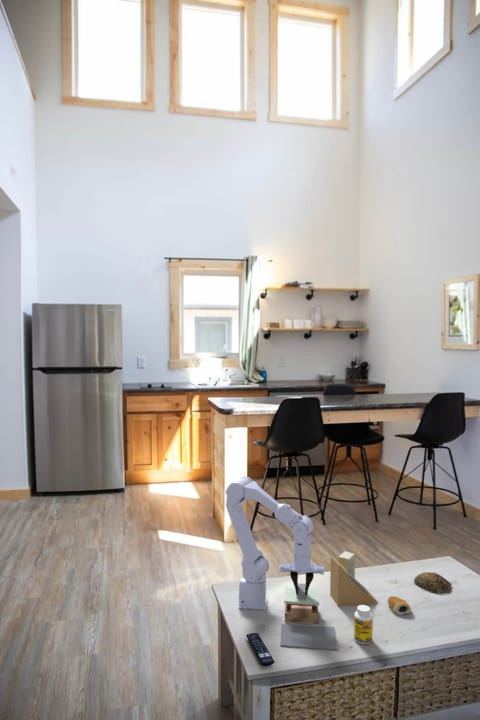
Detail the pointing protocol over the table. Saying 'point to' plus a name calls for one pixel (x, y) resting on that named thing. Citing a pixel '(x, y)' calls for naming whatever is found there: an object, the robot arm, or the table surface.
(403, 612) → the pastry
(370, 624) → the supplement bottle
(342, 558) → the skincare box
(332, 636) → the slate mat
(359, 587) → the sandwich container
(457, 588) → the table surface
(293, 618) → the walnut box
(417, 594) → the table surface
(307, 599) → the lid
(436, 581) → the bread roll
